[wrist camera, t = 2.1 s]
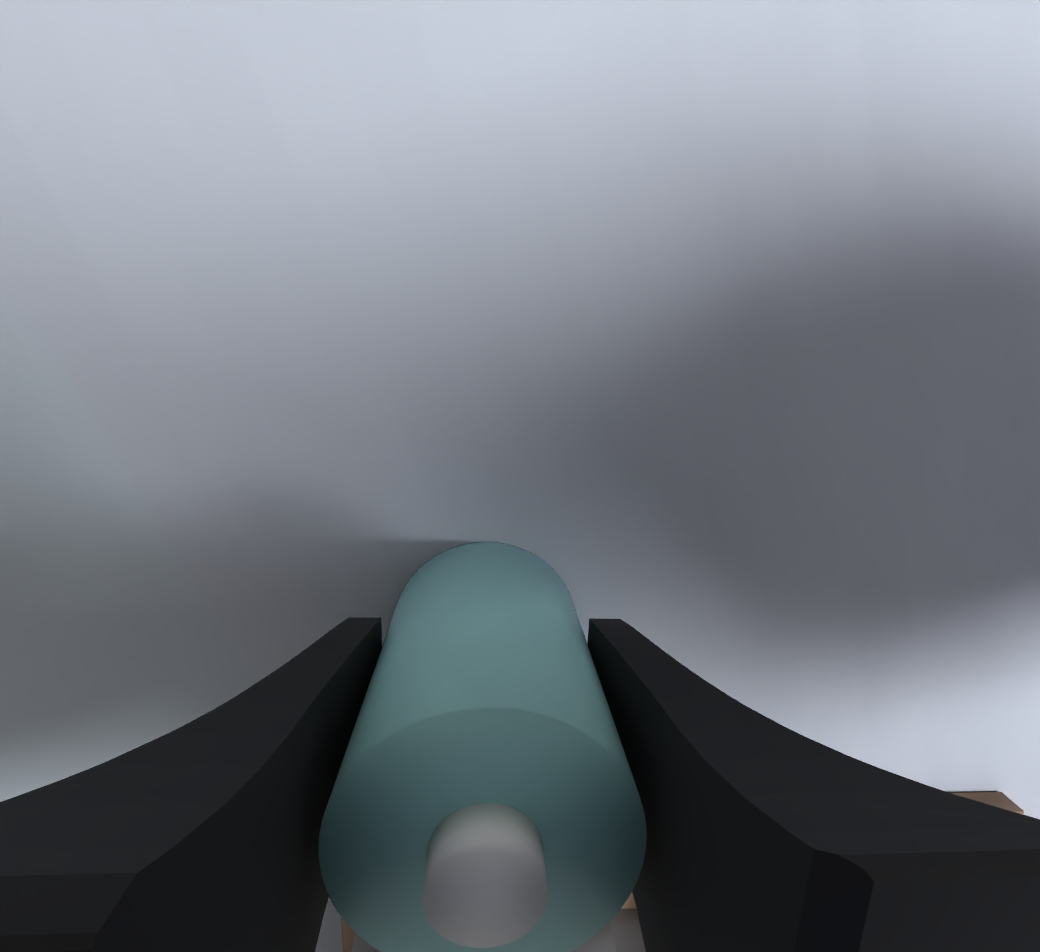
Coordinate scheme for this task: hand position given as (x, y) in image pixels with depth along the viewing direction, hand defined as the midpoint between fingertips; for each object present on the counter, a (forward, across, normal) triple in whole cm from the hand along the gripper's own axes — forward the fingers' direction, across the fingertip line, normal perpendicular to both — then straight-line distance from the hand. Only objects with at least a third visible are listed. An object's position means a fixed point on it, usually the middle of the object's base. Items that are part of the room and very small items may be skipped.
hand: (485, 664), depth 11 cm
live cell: (+1, 0, 0) cm, 1 cm away
